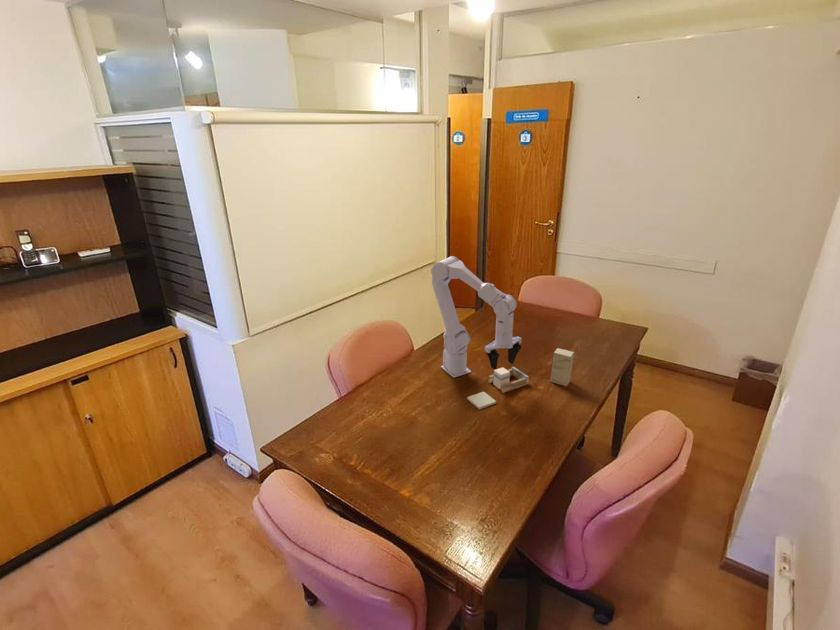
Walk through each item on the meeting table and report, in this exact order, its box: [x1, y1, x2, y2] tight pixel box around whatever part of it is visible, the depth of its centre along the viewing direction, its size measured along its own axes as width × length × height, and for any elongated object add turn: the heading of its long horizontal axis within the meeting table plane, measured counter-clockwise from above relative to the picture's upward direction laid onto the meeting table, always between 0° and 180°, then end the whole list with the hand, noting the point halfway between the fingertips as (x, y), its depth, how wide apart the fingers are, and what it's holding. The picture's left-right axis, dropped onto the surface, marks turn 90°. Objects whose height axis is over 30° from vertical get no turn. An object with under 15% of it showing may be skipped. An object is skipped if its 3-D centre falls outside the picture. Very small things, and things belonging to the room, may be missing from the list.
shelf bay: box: [488, 366, 530, 394], centre depth 161 cm, size 8×12×3 cm
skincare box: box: [549, 347, 575, 387], centre depth 159 cm, size 6×4×12 cm
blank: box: [492, 366, 511, 391], centre depth 159 cm, size 4×4×6 cm
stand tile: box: [466, 391, 497, 410], centre depth 151 cm, size 7×7×1 cm
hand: (502, 365), depth 157 cm, fingers open, 7 cm apart
